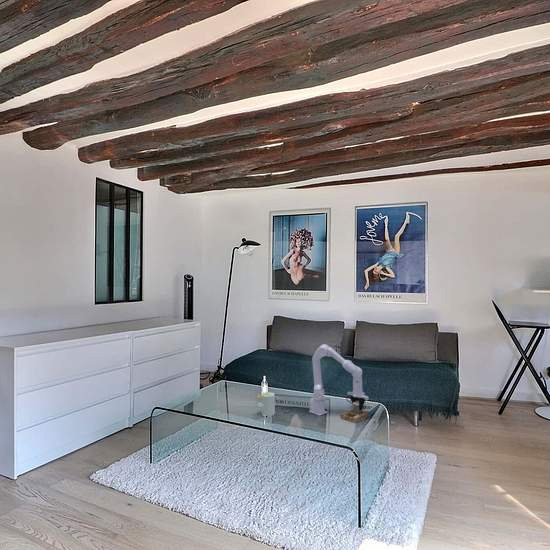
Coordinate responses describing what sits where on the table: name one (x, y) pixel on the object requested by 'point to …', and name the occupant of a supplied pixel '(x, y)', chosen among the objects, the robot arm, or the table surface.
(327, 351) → the robot arm
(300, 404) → the table surface
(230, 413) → the table surface
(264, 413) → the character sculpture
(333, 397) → the table surface
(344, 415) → the socket board
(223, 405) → the table surface
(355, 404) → the plug
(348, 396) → the coffee mug
